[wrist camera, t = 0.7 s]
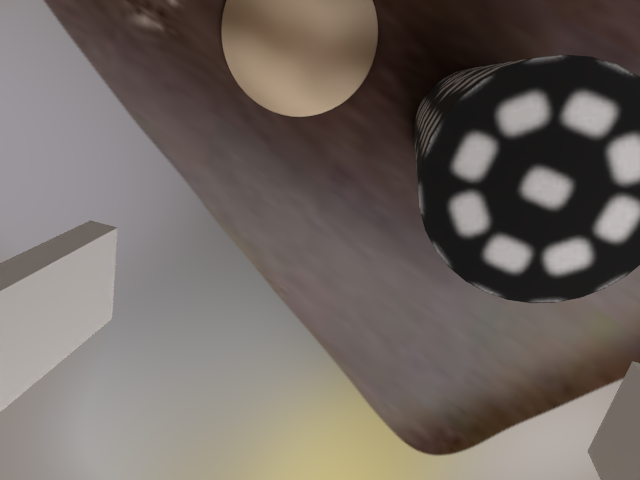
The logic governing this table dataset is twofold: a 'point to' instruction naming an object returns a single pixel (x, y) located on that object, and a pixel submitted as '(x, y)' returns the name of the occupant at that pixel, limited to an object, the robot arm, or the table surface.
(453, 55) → the table surface
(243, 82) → the cork pad
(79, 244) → the robot arm
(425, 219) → the white-spotted black cylinder
